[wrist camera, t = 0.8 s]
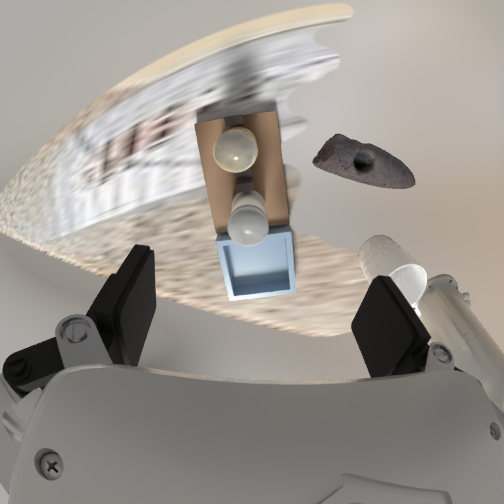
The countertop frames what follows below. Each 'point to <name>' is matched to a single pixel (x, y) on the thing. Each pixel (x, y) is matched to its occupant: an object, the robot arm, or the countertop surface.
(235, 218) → the grey rounded cylinder
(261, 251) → the tray
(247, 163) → the marked fuse
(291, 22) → the countertop surface
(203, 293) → the countertop surface
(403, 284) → the white cup
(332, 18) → the countertop surface
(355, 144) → the perforated stone tool
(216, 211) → the fuse holder
